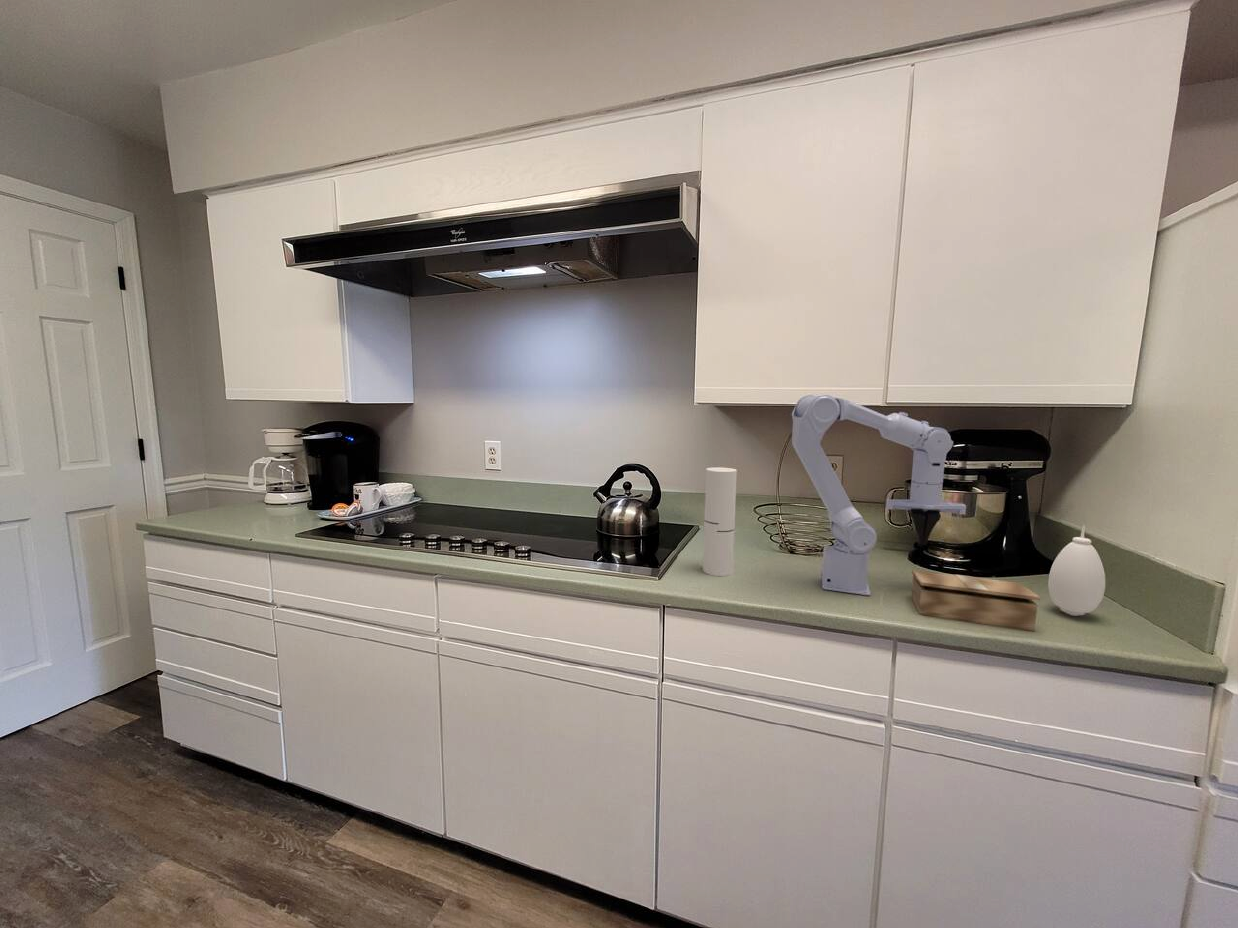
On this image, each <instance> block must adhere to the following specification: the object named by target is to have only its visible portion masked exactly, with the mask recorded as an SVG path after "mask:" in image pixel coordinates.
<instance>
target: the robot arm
mask: <svg viewBox="0 0 1238 928" xmlns="http://www.w3.org/2000/svg"><path fill="white" fill-rule="evenodd" d="M908 416H909V414H908V413H906V412H903V411H902V412H901V411H899V412H898V413H897V412H893V413H890V414H888V415H885V414H882V413H879V412H878V411H875V410H873V409H870V408H868V407H865V406H863V405H860V404H859V403H856V402H853V401H851V400H848V399H844V398H840V397H834V396H832V395H830V394H820V395H812V394H809V395H804V396H802V397H801V398H799V399H798V401H797V402H796V404H795V406H794V408H793V410H792V413H791V417H792V433H791V434H792V436H791V445H792V447H793V448H794V450H795V453H796V454H797V456H798V458H799V460H800V461H801V463H802V465H803V467H804V469H805V471H806V473H807V475H808V477H809V478H810V480H811V483H812V484H813V486H814V488H815V490H816V492H817V494H818V496H819V497H820V499H821V501H822V503H823V504H824V507H825V508H826V510H827V512H828V514H827V518H828V521H829V523H830V524H829V525H830V533H831V535H832V537H833V538H834V542H833V545H824V546H823V558H822V559H823V560H822V568H821V570H820V578H821V589H823V590H826V591H827V590H829V591H835V592H841V593H849V594H855V595H862V596H863V595H864V596H870V595H871V591H870V587H869V584H868V577H869V576H868V575H869V565H870V552H871V550H872V549H873V548H874V547H875V546H876V543H877V539H878V538H877V537H878V536H877V532H876V530H875V529H874V528H873V527H872V526H870V525H869V524H868V523H866V521H865V519H864V518H863V516H862V515H861V514H860V512H859V511H858V510H857V509H856V508H855V507H854V505H853V503H852V502H851V500H850V498H849V496H848V494H847V493H846V491H845V488H844V487H843V485H842V483H841V482H840V479H839V477H838V476H837V473H836V472H835V470H834V468H833V466H832V464H831V462H830V460H829V459H828V456H827V455H826V453H825V451H824V449H823V447H822V444H821V442H822V439H823V437H824V435H825V433H826V432H827V431H828V430H829V428H830V427H831V426H832V425H833V424H834V422H835V421H844V420H849V421H851V422H855V423H858V424H861V425H863V426H867V427H870V428H873V429H876V430H878V431H879V433H880V436H881V437H882V439H886V440H888V441H891V442H894V443H897V444H900V445H901V446H905V447H908V448H910V449H911V450H912V451H913V459H912V469H911V470H912V472H911V482H910V494H909V496H910V497H909V499H907V498H905V499H895V498H894V499H889V498H887V499H886V509H887V510H903V511H904V510H905V511H907V510H908V512H909V514H910V517H911V520H912V522H913V525H914V529H915V532H916V536H917V538H916V540H917V543H918V545H921V546H922V545H924V546H927V544H928V540H929V537H930V535H931V533H932V531H933V529H935V526H936V525H937V523H939V521H940V520H941V513H946V514H958V515H966V512H967V511H966V510H967V505H966V504H965V503H955V502H949V501H948V502H947V501H942V496H943V483H944V474H945V473H944V472H945V461H946V459H947V454H948V452H950V450H952V447H953V445H954V440H952V438H951V437H952V436H951V435H950V433H948V430H946V429H945V428H943V427H937V426H930V425H929V422H928V421H925V420H921V421H920V420H917V419H913V418H911V417H908Z"/></svg>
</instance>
